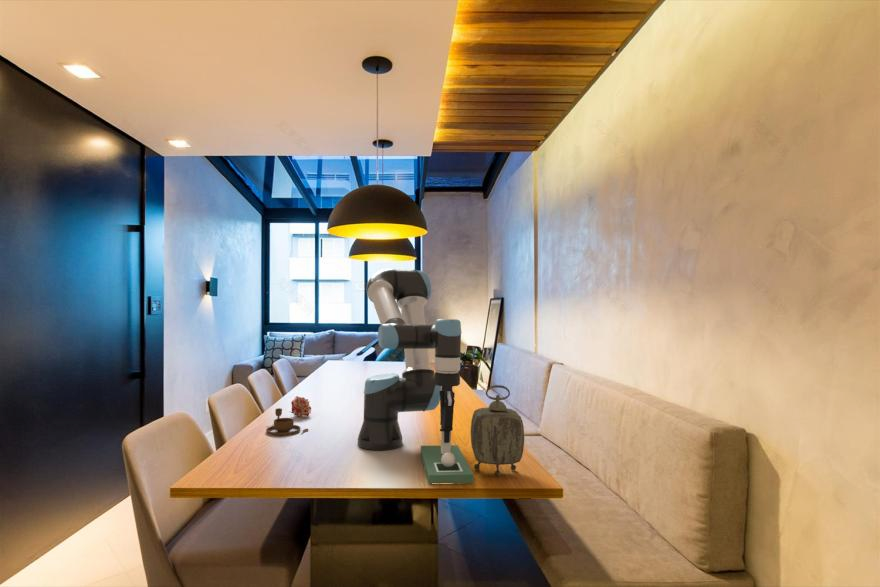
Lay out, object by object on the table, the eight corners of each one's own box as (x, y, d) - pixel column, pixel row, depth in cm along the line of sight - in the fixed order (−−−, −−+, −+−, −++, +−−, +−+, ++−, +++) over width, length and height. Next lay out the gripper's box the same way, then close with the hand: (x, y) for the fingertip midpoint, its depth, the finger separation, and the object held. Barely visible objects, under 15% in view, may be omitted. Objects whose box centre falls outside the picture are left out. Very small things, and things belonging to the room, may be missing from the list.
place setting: (252, 436, 163) (252, 420, 163) (274, 423, 183) (275, 408, 183) (300, 438, 162) (301, 421, 162) (318, 424, 182) (318, 409, 182)
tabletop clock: (518, 468, 135) (520, 383, 136) (525, 480, 126) (526, 388, 127) (469, 467, 135) (471, 382, 136) (472, 479, 126) (474, 387, 126)
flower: (281, 413, 189) (290, 399, 187) (291, 404, 198) (300, 390, 196) (300, 427, 188) (309, 413, 186) (309, 417, 197) (319, 404, 195)
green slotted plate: (428, 484, 121) (428, 475, 121) (420, 453, 147) (420, 445, 147) (473, 483, 122) (473, 474, 122) (457, 453, 148) (457, 445, 148)
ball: (442, 469, 127) (442, 454, 127) (440, 465, 131) (440, 450, 131) (456, 468, 127) (456, 454, 128) (454, 464, 131) (454, 450, 132)
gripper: (463, 374, 128) (462, 459, 127) (456, 368, 141) (454, 446, 140) (437, 374, 127) (435, 460, 126) (432, 368, 140) (430, 446, 139)
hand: (445, 452), depth 133 cm, fingers closed
